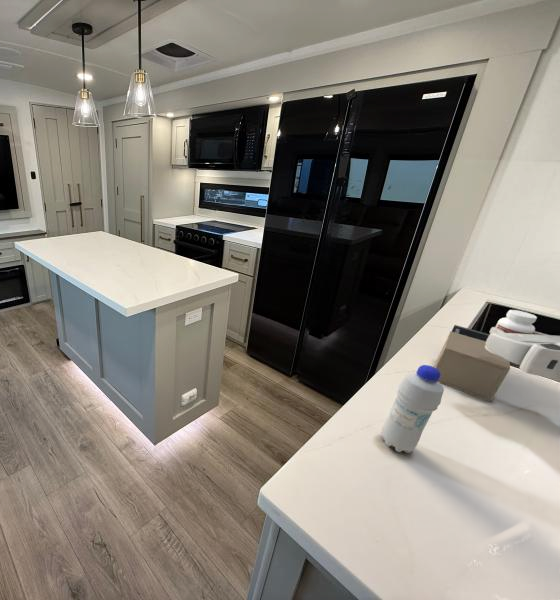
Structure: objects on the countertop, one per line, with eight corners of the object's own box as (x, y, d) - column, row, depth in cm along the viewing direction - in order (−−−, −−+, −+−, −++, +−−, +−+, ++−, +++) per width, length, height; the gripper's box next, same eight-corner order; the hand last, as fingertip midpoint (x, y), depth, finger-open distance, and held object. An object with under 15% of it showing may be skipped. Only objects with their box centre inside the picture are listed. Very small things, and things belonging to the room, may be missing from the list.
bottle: (370, 434, 69) (401, 360, 61) (391, 428, 71) (425, 356, 63) (399, 460, 63) (438, 381, 55) (422, 452, 65) (463, 375, 57)
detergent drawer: (444, 343, 108) (455, 320, 104) (490, 357, 100) (503, 333, 97) (438, 362, 96) (450, 338, 93) (489, 380, 89) (504, 354, 85)
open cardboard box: (436, 359, 99) (450, 331, 95) (490, 378, 91) (508, 348, 87) (430, 378, 90) (445, 347, 85) (490, 401, 82) (510, 368, 77)
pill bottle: (523, 362, 74) (548, 322, 70) (489, 355, 77) (511, 315, 72) (512, 351, 79) (534, 312, 75) (480, 344, 82) (500, 306, 78)
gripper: (636, 353, 62) (558, 321, 75) (533, 347, 63) (472, 317, 75) (617, 378, 65) (544, 343, 77) (517, 372, 65) (461, 339, 78)
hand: (508, 330), depth 76 cm, fingers closed on pill bottle, 6 cm apart
